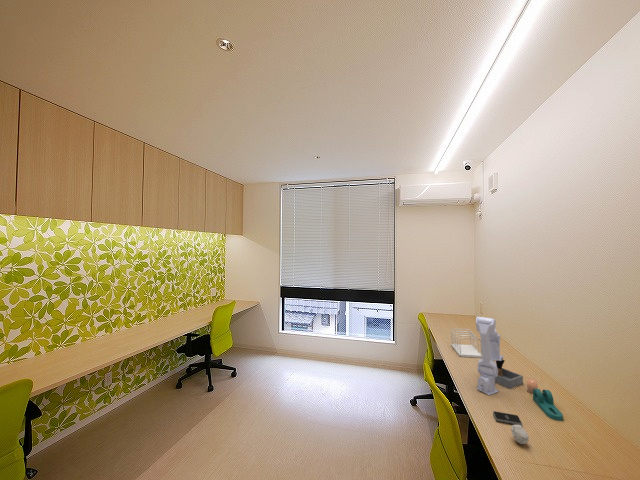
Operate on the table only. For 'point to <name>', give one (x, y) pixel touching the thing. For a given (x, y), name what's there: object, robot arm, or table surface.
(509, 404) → the table surface
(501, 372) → the walnut cube
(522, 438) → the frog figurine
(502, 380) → the tote
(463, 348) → the file sorter
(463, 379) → the table surface
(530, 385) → the terracotta cylinder
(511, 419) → the external hard drive
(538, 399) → the bracket
